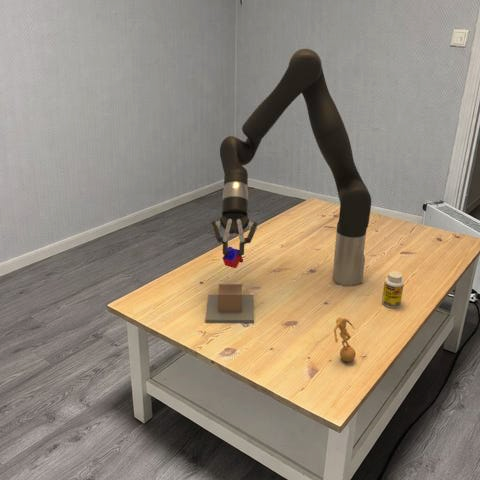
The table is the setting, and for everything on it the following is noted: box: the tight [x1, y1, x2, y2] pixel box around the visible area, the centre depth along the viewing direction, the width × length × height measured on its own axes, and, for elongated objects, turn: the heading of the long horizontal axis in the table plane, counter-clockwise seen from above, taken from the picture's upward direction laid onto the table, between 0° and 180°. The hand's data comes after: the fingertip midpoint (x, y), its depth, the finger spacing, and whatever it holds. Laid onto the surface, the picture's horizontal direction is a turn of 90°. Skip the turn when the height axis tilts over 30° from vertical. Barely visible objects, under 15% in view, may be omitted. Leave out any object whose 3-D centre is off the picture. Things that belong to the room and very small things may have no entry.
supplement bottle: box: [381, 270, 405, 309], centre depth 160 cm, size 6×6×10 cm
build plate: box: [204, 283, 255, 324], centre depth 157 cm, size 14×14×7 cm
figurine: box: [333, 317, 357, 363], centre depth 135 cm, size 8×6×12 cm
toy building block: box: [222, 246, 244, 269], centre depth 152 cm, size 4×4×8 cm
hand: (233, 255), depth 150 cm, fingers closed on toy building block, 3 cm apart
